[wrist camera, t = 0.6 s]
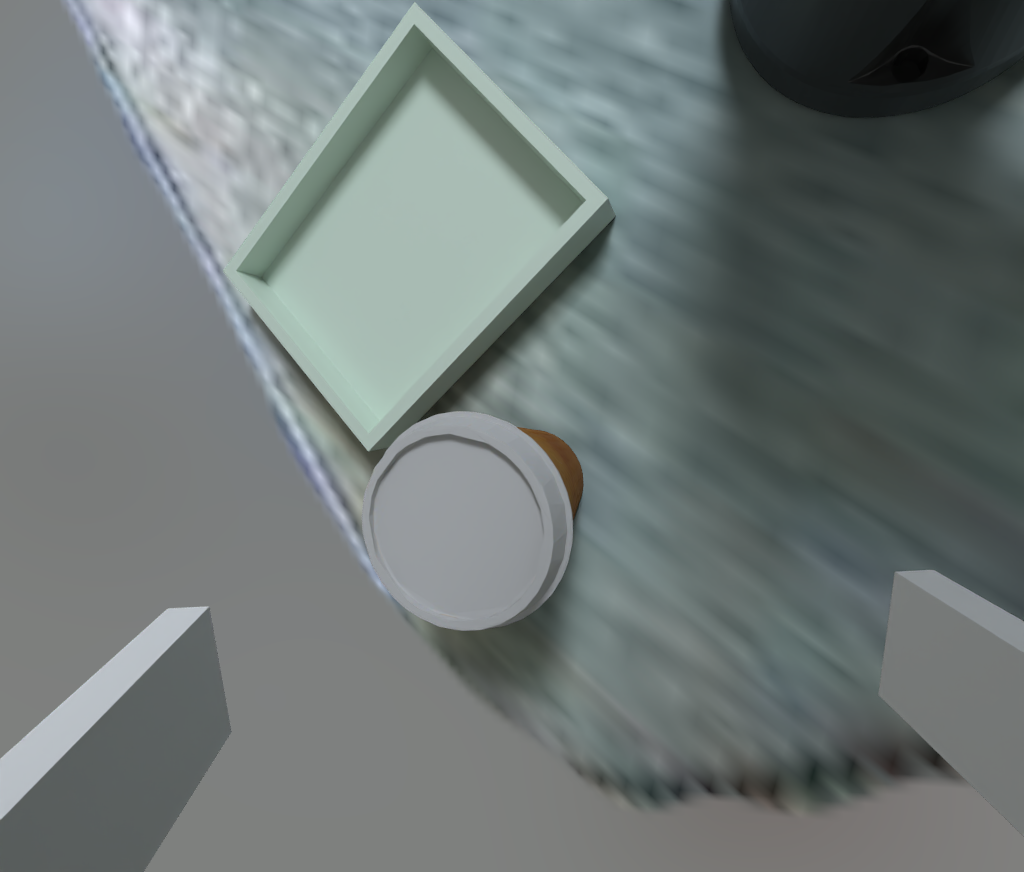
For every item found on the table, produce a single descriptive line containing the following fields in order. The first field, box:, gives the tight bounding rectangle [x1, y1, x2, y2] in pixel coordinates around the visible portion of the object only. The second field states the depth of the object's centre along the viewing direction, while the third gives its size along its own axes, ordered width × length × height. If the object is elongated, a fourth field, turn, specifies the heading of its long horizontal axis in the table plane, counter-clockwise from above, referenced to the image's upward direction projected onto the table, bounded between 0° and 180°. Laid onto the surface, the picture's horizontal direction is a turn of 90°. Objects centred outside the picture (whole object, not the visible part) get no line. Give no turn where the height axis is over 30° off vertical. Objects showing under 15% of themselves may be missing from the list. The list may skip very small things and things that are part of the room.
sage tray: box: [223, 2, 616, 452], centre depth 33 cm, size 20×16×3 cm
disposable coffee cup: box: [362, 411, 583, 631], centre depth 27 cm, size 10×10×12 cm
